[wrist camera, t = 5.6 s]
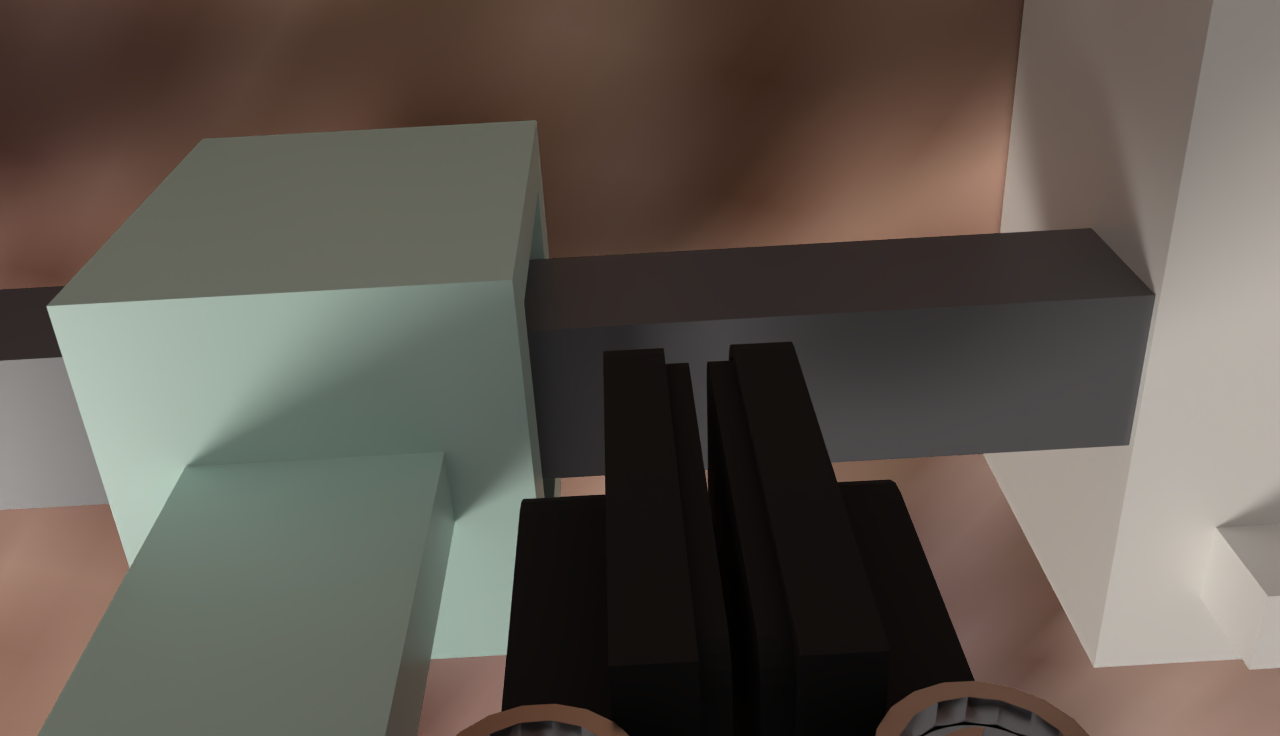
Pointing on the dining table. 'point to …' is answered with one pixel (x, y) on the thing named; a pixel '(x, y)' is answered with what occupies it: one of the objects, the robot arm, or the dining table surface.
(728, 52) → the dining table surface
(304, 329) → the sleeve
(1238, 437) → the rail
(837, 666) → the robot arm
